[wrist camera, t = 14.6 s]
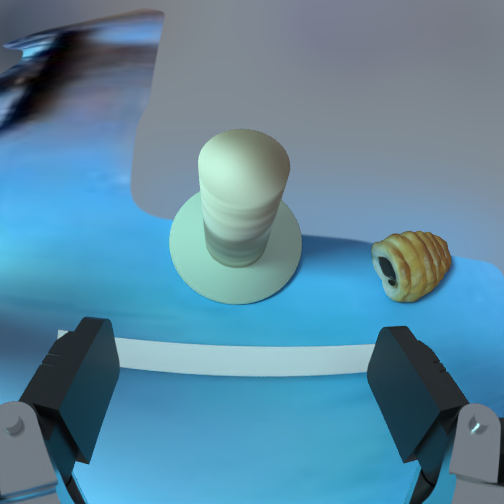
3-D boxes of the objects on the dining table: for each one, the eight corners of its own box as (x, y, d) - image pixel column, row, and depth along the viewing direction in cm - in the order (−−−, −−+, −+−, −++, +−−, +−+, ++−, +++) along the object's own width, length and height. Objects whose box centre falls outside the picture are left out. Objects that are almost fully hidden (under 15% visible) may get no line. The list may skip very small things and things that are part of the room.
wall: (82, 361, 24) (55, 356, 19) (84, 339, 24) (58, 329, 20) (379, 371, 26) (408, 367, 21) (379, 349, 26) (407, 341, 22)
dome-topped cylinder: (234, 280, 27) (242, 218, 17) (192, 237, 28) (179, 159, 18) (279, 240, 29) (308, 166, 19) (237, 201, 30) (245, 117, 20)
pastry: (427, 227, 32) (445, 211, 29) (452, 282, 30) (473, 270, 26) (362, 249, 30) (378, 233, 27) (389, 313, 28) (409, 303, 24)
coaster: (232, 333, 26) (233, 333, 26) (144, 235, 29) (143, 234, 28) (326, 244, 30) (327, 242, 29) (238, 165, 32) (239, 162, 32)
